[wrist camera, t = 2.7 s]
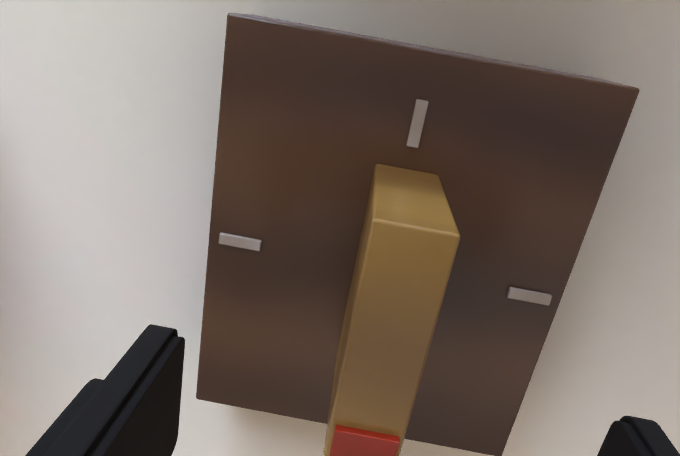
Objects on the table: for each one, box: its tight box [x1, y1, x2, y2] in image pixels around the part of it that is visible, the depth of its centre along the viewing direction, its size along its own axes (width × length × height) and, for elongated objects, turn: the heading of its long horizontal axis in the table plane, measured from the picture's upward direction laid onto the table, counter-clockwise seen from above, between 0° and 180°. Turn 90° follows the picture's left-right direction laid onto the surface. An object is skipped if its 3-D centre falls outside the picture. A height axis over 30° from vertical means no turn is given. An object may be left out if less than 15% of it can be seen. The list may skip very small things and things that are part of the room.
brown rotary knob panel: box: [196, 13, 639, 456], centre depth 19 cm, size 14×12×3 cm
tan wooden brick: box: [324, 164, 460, 456], centre depth 15 cm, size 7×2×5 cm, turn 170°
